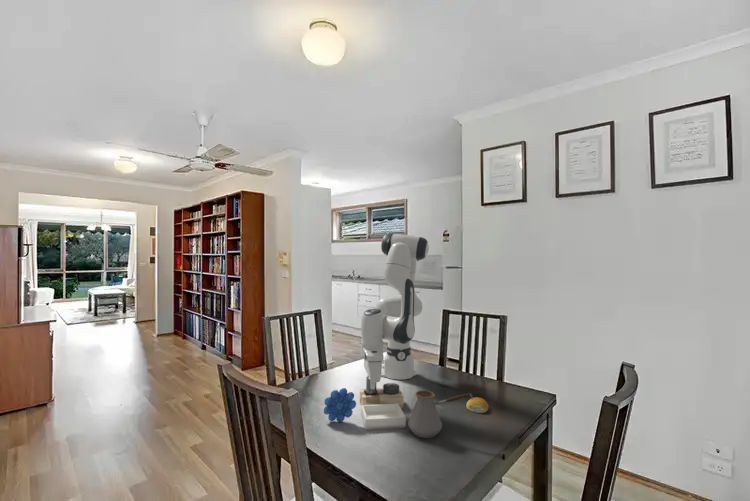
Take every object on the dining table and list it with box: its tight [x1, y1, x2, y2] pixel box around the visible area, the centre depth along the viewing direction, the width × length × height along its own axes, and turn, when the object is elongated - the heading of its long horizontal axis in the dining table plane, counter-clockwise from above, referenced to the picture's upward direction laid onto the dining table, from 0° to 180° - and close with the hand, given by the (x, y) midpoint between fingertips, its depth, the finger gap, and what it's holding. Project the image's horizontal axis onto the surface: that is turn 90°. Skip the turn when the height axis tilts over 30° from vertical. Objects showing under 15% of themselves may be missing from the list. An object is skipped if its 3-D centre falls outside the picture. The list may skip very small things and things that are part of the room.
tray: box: [360, 404, 407, 431], centre depth 133 cm, size 12×14×4 cm
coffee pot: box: [407, 390, 474, 439], centre depth 123 cm, size 21×12×15 cm, turn 72°
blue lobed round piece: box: [323, 387, 357, 423], centre depth 133 cm, size 12×7×12 cm, turn 86°
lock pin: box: [365, 375, 377, 396], centre depth 147 cm, size 4×4×11 cm
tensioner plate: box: [359, 382, 405, 410], centre depth 147 cm, size 9×16×8 cm, turn 99°
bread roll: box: [465, 396, 489, 414], centre depth 145 cm, size 8×9×4 cm
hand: (371, 386), depth 147 cm, fingers closed on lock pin, 4 cm apart
